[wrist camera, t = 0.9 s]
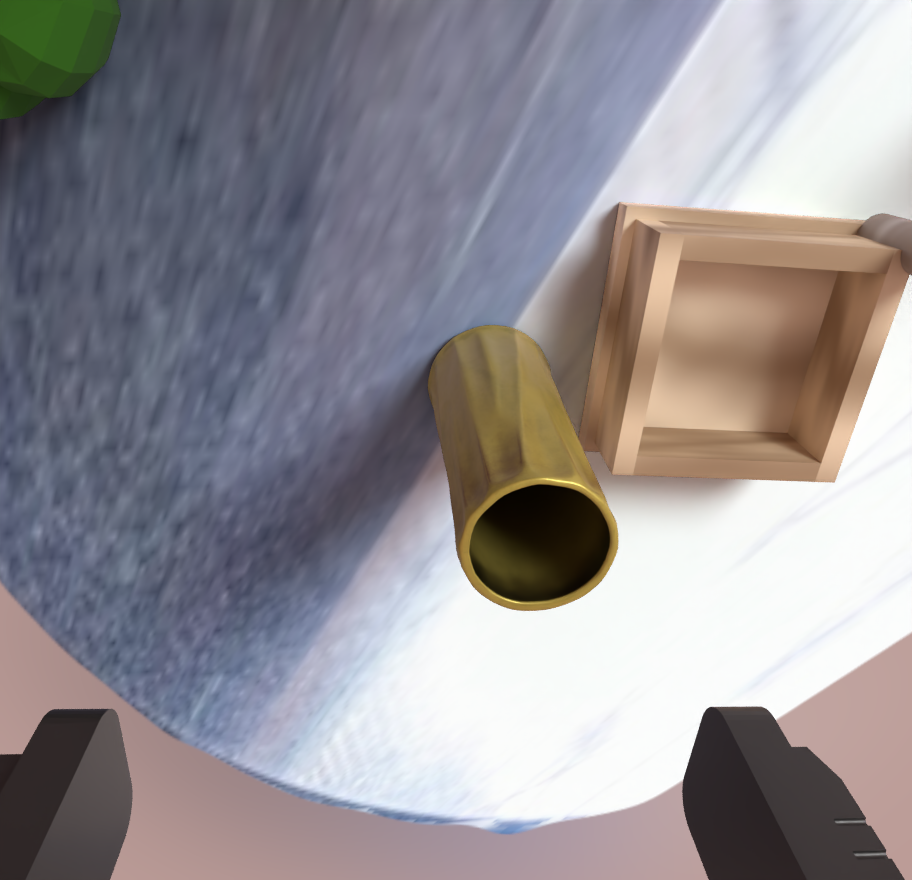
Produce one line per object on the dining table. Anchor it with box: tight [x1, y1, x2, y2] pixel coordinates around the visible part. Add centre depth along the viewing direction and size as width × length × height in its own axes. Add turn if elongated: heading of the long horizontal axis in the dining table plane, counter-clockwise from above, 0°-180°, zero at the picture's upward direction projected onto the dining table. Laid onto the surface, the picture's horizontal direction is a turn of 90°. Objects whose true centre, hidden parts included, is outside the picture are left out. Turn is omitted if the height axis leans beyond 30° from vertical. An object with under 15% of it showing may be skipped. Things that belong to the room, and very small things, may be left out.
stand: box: [579, 202, 912, 482], centre depth 29 cm, size 12×13×13 cm
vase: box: [428, 325, 618, 611], centre depth 29 cm, size 6×6×14 cm
